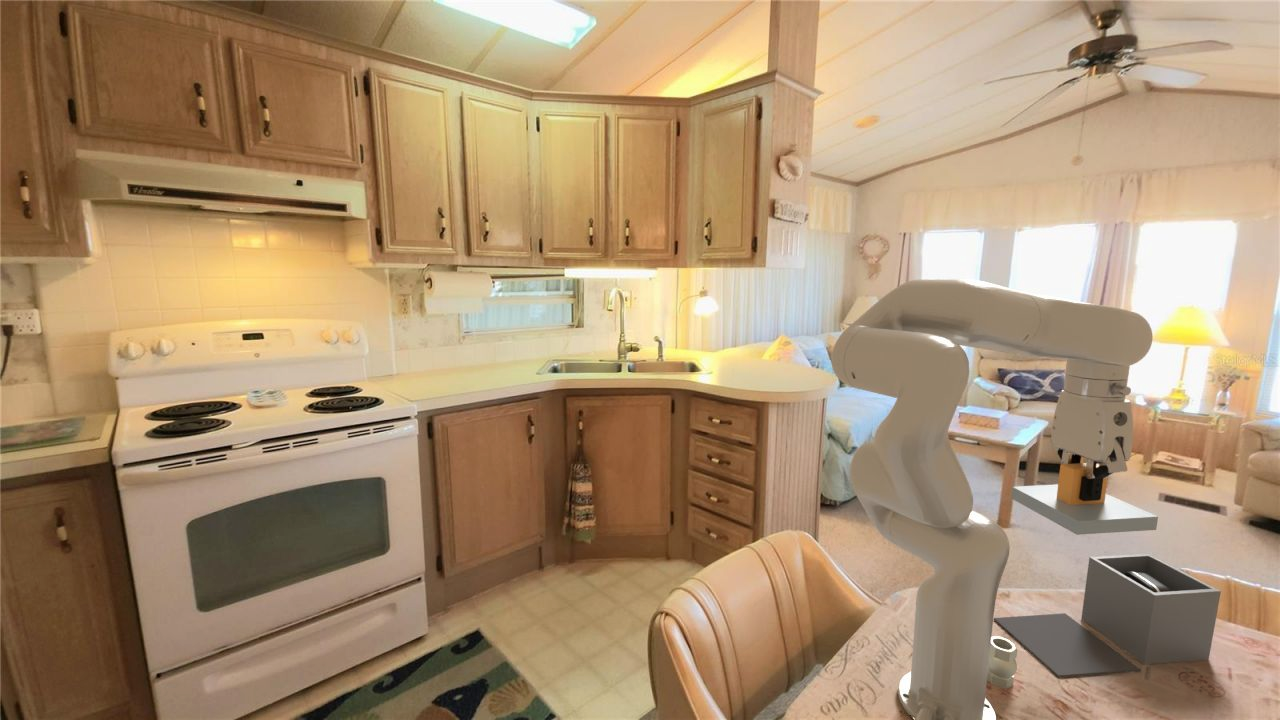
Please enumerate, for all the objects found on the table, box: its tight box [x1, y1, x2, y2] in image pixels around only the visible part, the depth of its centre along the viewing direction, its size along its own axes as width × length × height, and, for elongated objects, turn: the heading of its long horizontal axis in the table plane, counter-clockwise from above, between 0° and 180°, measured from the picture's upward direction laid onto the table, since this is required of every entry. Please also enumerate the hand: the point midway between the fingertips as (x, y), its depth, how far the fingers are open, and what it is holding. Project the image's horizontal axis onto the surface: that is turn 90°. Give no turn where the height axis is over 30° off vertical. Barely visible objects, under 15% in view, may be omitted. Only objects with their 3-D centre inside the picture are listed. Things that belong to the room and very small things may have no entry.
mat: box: [993, 613, 1142, 678], centre depth 90 cm, size 14×14×1 cm
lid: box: [1011, 462, 1159, 536], centre depth 86 cm, size 13×13×8 cm
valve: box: [987, 635, 1018, 690], centre depth 86 cm, size 7×7×12 cm
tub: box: [1081, 553, 1222, 666], centre depth 90 cm, size 11×11×12 cm
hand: (1080, 494), depth 86 cm, fingers closed on lid, 2 cm apart
